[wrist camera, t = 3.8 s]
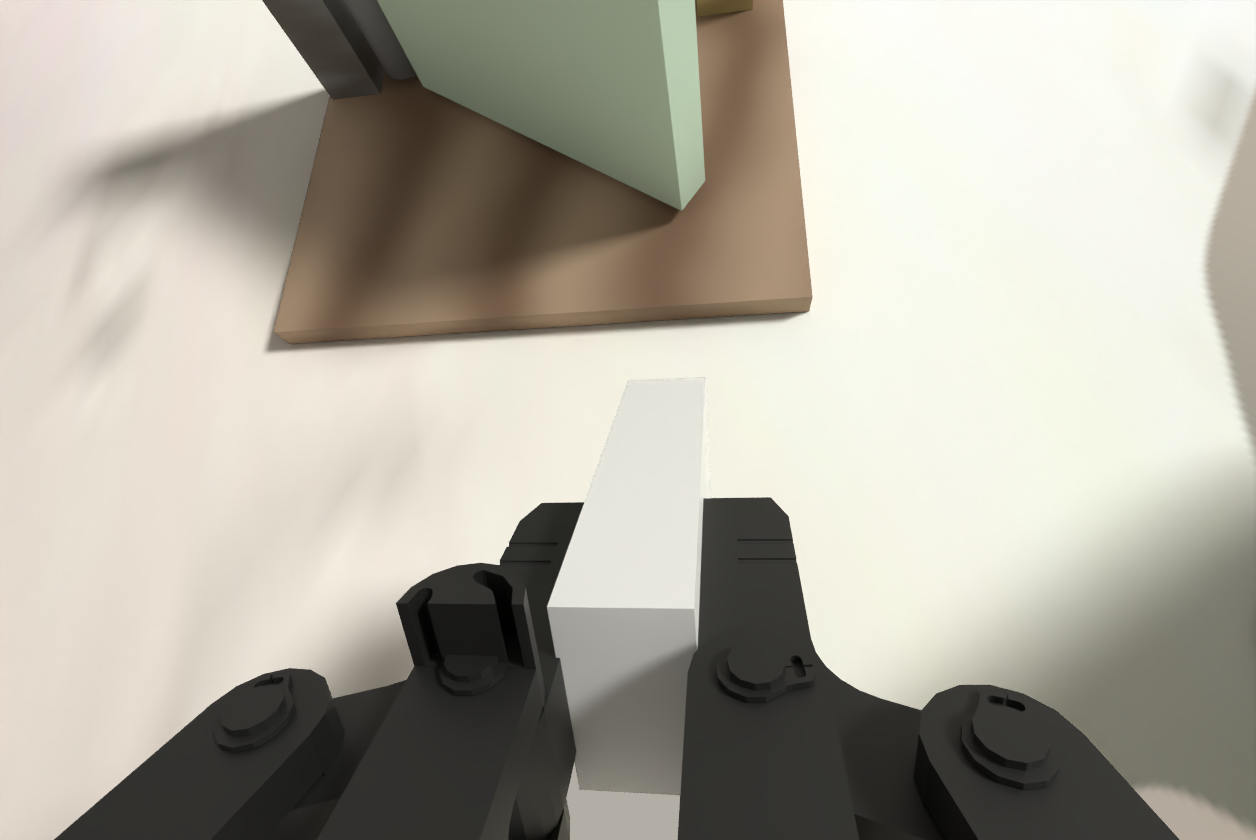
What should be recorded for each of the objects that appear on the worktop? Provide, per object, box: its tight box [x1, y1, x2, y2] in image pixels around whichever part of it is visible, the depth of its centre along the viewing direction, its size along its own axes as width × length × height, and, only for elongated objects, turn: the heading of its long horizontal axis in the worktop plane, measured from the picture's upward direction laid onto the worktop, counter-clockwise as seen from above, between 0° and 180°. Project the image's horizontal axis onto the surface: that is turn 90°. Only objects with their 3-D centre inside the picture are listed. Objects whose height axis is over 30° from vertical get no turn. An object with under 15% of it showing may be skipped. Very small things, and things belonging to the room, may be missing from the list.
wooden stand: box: [262, 0, 812, 344], centre depth 22 cm, size 21×18×13 cm
